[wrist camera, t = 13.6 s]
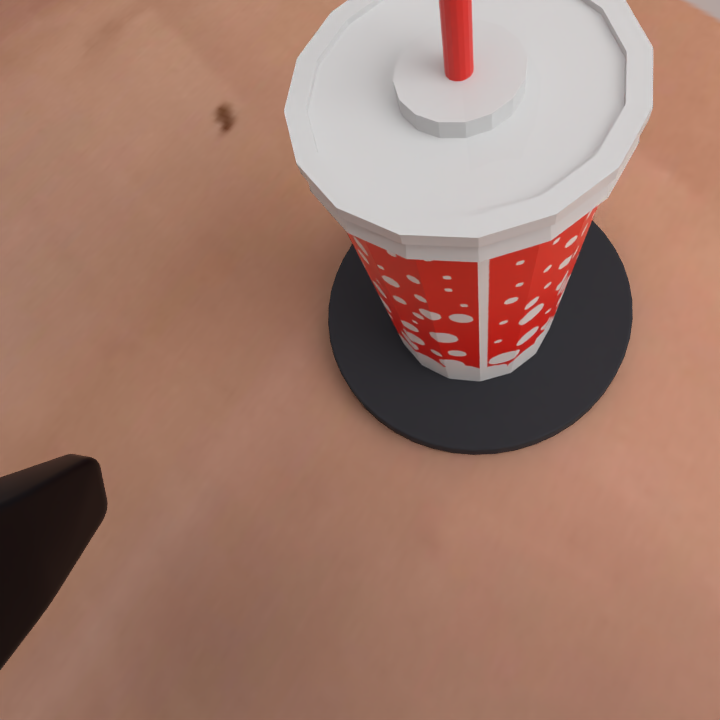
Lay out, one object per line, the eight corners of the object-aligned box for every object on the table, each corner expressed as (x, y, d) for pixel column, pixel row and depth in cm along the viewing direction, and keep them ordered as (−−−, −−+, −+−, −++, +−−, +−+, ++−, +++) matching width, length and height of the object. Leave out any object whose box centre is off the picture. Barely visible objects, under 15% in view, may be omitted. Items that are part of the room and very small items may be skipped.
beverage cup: (562, 208, 19) (710, -571, 6) (596, 397, 17) (928, -219, 4) (367, 235, 20) (159, -394, 7) (375, 416, 18) (99, -35, 5)
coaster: (386, 501, 18) (383, 498, 17) (298, 250, 21) (293, 241, 21) (688, 386, 17) (695, 379, 17) (547, 150, 21) (549, 137, 20)
